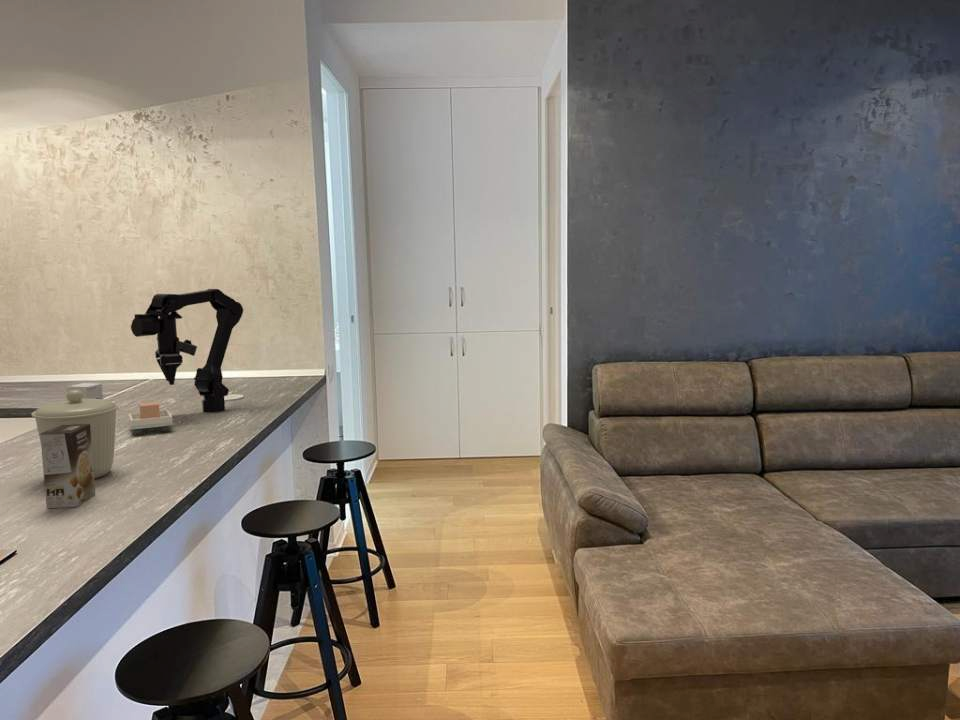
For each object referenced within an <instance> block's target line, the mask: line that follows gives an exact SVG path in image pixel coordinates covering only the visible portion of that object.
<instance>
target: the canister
mask: <svg viewBox="0 0 960 720" xmlns="http://www.w3.org/2000/svg"><path fill="white" fill-rule="evenodd" d="M65 395H66V396H65V397H66V399H67V400H60V401H54V402H50V403H47V404H44V405H42V406H40V407H38V408H37V409H36V410H34V411H32V412H31V417H32V418H35V423H36V428H37V432H38V437H39V440H40V443H41V436H40V434H41V433H43V432H46V431H48V430H50V429H53V428H55V427H58V426H60V425H70V424H90V430H91V442H92V455H93V468H94V480H95V479H98V478H101V477H103V476H106V474H108V473H109V472H110V471H111V469H112V468H113V464H114V455H115V444H116V443H115V439H116V417H117V416H116V414H117V412H116V411H117V410H118V409H119V405H118V404H117V403H113V401H111V400H108V399H105V398H103V399H83V393H82V392H81V391H80V390H71V391H69V392H68V393H67V392H66V394H65Z"/></svg>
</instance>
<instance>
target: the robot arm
mask: <svg viewBox="0 0 960 720" xmlns="http://www.w3.org/2000/svg"><path fill="white" fill-rule="evenodd" d="M204 303H210V305H211V308H213V310H215V311H216V312H215V313H216V314H215V317H216V318H215V319H216V322H217V327H216V330H215V332H214V335H213V340H212V343H211V346H210V349H209V353H208V356H207V360H206V361H205V362H206V363H205V365H204V366H203V367H202V368H201V367H198V368H197V369H196V373H195V376H194V378H193V380H194V387H195V389H196V390H197V391H198V395H199V396H202V397H203V399H202V400H201V406H202V407H201V408H202V410H201V411H202V413H217V412H218V413H219V412H222V411H226V405H225V404H226V403H225V397H227V396H229V392H230V391H229V390H230V389H229V388H228V387H227V386H225V384H223V371H222V366H223V362H224V359H225V355H226V352H227V348H228V346H229V341H230V339H231V336H232V333H233V329H234V328H235V326H237V324H238V323H239V322H240V320H241V319H242V316H243V313H244V307H243V305H242V304H241V302H238V301H236V300H235V299H234V298H232V297H231V296H228V295H227V294H225V293H224V291H222V290H220V289H218V288H208V289H205V290H198V291H193V292H192V291H191V292H187V293H186V292H185V293H180V294H177V293H176V294H175V293H174V294H173V293H172V294H171V293H157V294H154V295H153V297H152V299H151V303H150V304H149V306H148V308H147V310H146V311H145V313H144V314H140V313H137V314H136V313H135V314H134V318H133V320H131V321H132V322H131V325H130V330H131V333H132V334H133V336H135V337H137V338H138V337H139V338H140V337H149V336H156V341H157V350H156V351H155V352H154V355H155V359H156V362H157V365H158V366H159V368H160V370H161V372H162V374H163V376H164V378H165V380H166V382H168V383H169V385H170V386H174V385H175V381H176V374H177V370H178V368H179V367H180V366H181V365H182V364H183V360H184V359H183V356H182V355H181V353H185V354H188V355H189V356H192V357H194V356H195V355H196V353H197V348H198V346H197V345H195V344H192V340H191V339H185V340H182V341H180V338H179V337H178V332H177V320H180V319H183V316H182V315H181V314H179V313H178V312H177V311H181V310H182V309H183V308H184V307H187V306H193V305H198V304H204Z"/></svg>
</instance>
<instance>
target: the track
mask: <svg viewBox="0 0 960 720" xmlns="http://www.w3.org/2000/svg"><path fill="white" fill-rule="evenodd" d="M201 423H202V424H203V423H204V422H201ZM194 424H195V425H197V424H199V422H197V423H195V422H194ZM184 425H190V423H189V424H188V423H187V424H184ZM176 426H177V425H174V427H176ZM159 428H160V429H162V427H161V426H159V427H156V429H159ZM149 429H153V427H150V428H146V430H149ZM198 429H199V427H197V428H196V430H198ZM200 429H201V430H202V429H203V427H201V428H200ZM205 429H209V427H205ZM191 430H194V428H191V429H188V431H191ZM130 431H133V432H134V429H132V430H131V429H130ZM182 431H183V429H179V430H178V432H182ZM173 432H174V433H175V432H176V430H173V431H171V430H170V431H169V433H173ZM163 433H165V434H166V432H164V431H163V432H161V434H163ZM156 434H158V432H153V433H152V435H156ZM146 435H147V436H148V435H150V433H144V434H143V436H146ZM139 436H141V435H139ZM139 436H138V437H139ZM133 437H137V435H135V434H134V435H133Z"/></svg>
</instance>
